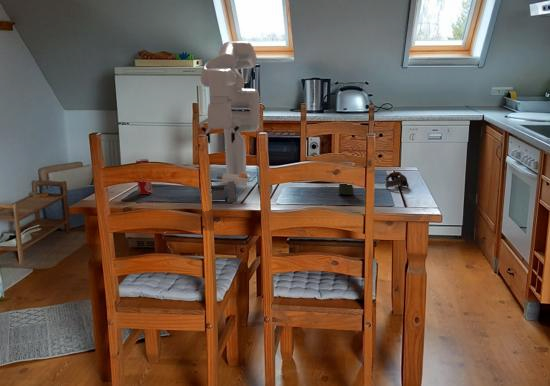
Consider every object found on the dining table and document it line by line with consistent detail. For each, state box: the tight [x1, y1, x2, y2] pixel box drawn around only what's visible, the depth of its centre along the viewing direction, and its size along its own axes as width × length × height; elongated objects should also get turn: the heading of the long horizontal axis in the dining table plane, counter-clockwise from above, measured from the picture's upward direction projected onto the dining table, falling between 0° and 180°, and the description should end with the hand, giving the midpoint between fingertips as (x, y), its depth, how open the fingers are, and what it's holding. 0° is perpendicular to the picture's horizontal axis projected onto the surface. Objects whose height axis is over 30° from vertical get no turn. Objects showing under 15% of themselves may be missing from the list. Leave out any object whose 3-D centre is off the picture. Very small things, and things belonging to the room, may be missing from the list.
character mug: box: [338, 161, 356, 196], centre depth 241 cm, size 11×7×13 cm, turn 172°
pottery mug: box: [385, 171, 410, 190], centre depth 252 cm, size 12×10×8 cm
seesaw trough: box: [216, 172, 250, 186], centre depth 241 cm, size 13×13×3 cm
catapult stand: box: [226, 181, 239, 203], centre depth 239 cm, size 14×4×8 cm, turn 1°
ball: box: [239, 172, 248, 179], centre depth 238 cm, size 4×4×4 cm
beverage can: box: [135, 158, 153, 195], centre depth 250 cm, size 6×6×15 cm
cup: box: [211, 180, 228, 200], centre depth 239 cm, size 9×7×8 cm
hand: (220, 142), depth 241 cm, fingers open, 9 cm apart
